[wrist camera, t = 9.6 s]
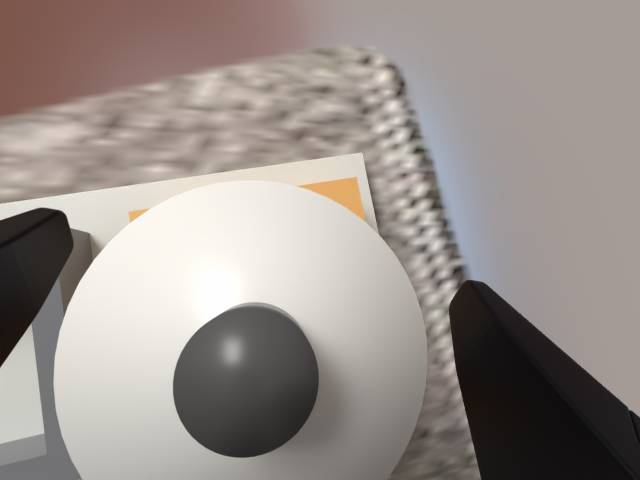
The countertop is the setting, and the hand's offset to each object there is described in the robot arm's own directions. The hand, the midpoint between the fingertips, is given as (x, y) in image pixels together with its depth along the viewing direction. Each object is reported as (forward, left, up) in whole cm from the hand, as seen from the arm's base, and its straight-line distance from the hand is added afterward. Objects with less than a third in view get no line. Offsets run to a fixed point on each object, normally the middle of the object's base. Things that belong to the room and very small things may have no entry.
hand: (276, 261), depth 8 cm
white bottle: (-1, 0, -8) cm, 8 cm away
